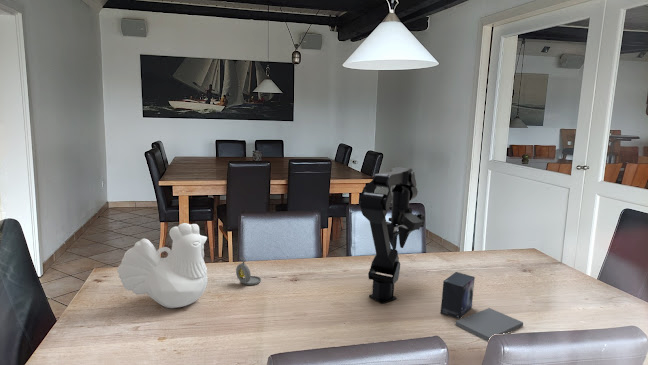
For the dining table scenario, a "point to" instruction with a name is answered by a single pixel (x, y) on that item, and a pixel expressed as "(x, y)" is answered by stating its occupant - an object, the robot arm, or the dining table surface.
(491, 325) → the mat
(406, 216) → the robot arm
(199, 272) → the decorative rooster
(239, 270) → the pocket watch
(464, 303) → the small box
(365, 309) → the dining table surface
